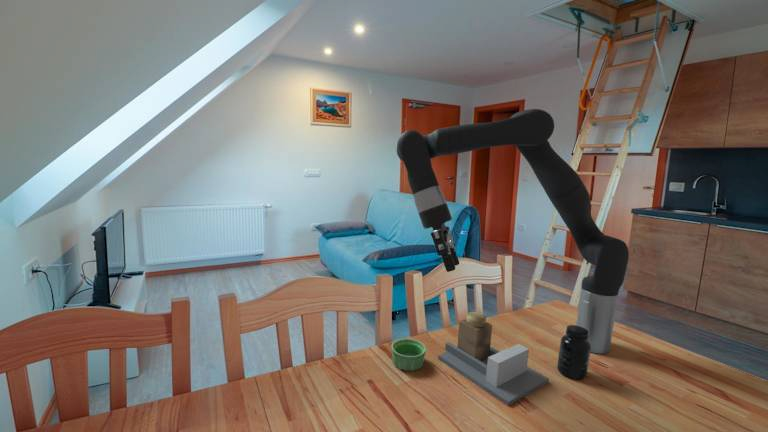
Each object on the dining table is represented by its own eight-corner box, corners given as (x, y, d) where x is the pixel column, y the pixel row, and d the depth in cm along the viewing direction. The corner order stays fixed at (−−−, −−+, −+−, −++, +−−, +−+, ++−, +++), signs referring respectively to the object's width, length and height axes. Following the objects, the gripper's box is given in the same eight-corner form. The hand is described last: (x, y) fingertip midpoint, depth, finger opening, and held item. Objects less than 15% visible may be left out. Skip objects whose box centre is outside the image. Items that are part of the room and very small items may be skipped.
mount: (475, 341, 107) (477, 319, 106) (548, 382, 88) (551, 355, 87) (435, 356, 98) (437, 332, 97) (507, 405, 79) (510, 376, 78)
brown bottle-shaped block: (472, 346, 101) (475, 309, 100) (489, 356, 97) (492, 317, 95) (457, 352, 98) (459, 314, 96) (474, 363, 93) (477, 323, 91)
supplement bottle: (590, 382, 89) (597, 337, 87) (561, 378, 90) (566, 333, 88) (581, 367, 95) (587, 324, 94) (554, 363, 97) (559, 321, 95)
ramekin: (385, 367, 92) (386, 351, 92) (397, 350, 101) (398, 335, 100) (419, 376, 89) (420, 359, 88) (428, 358, 97) (429, 343, 97)
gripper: (441, 201, 84) (465, 268, 83) (449, 202, 98) (470, 259, 96) (411, 212, 86) (434, 277, 85) (424, 211, 100) (443, 267, 98)
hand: (453, 267), depth 91 cm, fingers open, 8 cm apart
